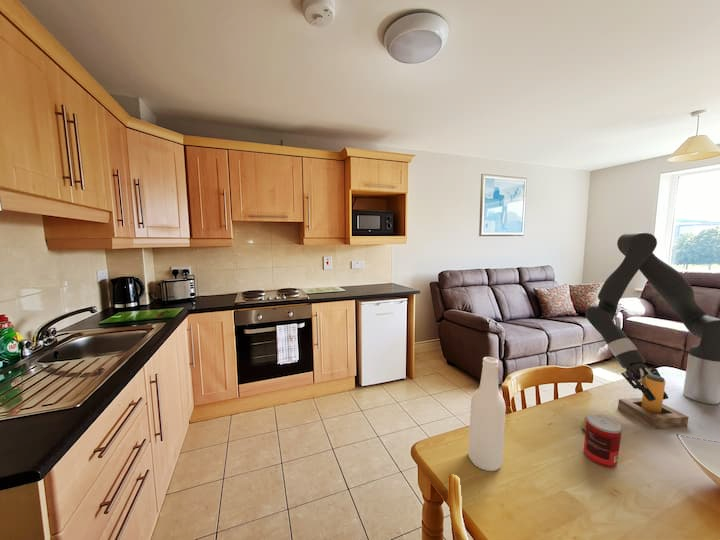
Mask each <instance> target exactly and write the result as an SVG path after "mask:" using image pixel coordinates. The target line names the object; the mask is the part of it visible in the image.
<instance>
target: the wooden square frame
mask: <svg viewBox="0 0 720 540" xmlns="http://www.w3.org/2000/svg"><path fill="white" fill-rule="evenodd" d="M641 404H642V397H635V398H634V397H633V398H631V397H630V398H619V399H618V403H617V408H618V410H621V411H622V412H624V413H625V414H627V415H629V416H630V417H632V418H634V419H636V420H637V421H639V422H641V423H642V424H644V425H646V426H647V427H649V428H650V429H653V430H656V429H657V430H658V429H670V428H671V429H672V428H686V427H688V423H689V416H688V415H686V414H684V413H682V412H680V411H678V410H676V409H674V408H672V407H670V406H668V405H666V404H663V403H662V409H661V414H652V413H651V412H649V411H647V410H645V409H643V408H641Z"/></svg>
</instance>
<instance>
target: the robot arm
mask: <svg viewBox="0 0 720 540" xmlns="http://www.w3.org/2000/svg"><path fill="white" fill-rule="evenodd" d="M616 243H617V244H616V245H617V248H618V250H619V252H620V253H621V254H622V255H624V256H625V257H624V259H623V260H622V262H621V263H620V265H619V266H618V267H617V268H616V269H615V270H614V271H613V272H612V273H611V274H610V275H609V276H608V277H607V278H606V280H605V281H604V283H603V285H602V286H601V289H600V290H599V292H598V294H597V298H598V301H599V302H598V305H591V306H589V307H587V309H586V310H585V317H586V319H587V321H588V322H589V323H590V325H591V326H592V327H593V328H594V329H595V330H596V331H597V332H598V333H599V334H600V335H601V337H602V338H603V340H604V341H605V343H606V344H607V347H608V348H609V350H610V351H611V353H612V354H613V356H614V357H615V359H616V360H617V361H618V363H619V365H620V367H621V368H623V369H625V371H623V372H621V375H622V376H623V378H624V379H625V380H626V381H627V382H628V384H630V385H631V387H632V388H633V390H636V389H637V390H639V391H641V392H642V395H643V394H644V396H645V397H646V398H647V399H648V401H653V400H656V398H655V397H654V395H653V394H652V393H651V391H650V390H649V388H648V389H647V385H646V380H645V376H647V374H653V375H657V376H660V377H662V376H661V374H660V372H659V370H658V369H657V368H656V367H653V368H649V366H647V365H646V364H645V363H646V359H645V357H644V356H643V354H642V352H640V351H639V350H638V348H637V347H636V345H635V344H634V343H633V342H632V341H631V339H630V338H629V337H628V336H627V334H626V333H625V332H624V331H623V329H622V328H621V327H619V326H618V324H617V325H616V324H615V322H614V321H613V320H614V318H615V317H616V312H617V310H618V305H619V302H620V300H621V299H622V297H623V295H624V293H625V291H626V290H627V288H628V286H629V284H630V282H631V281H632V280H633V278H634V277H635V275H636V274H637V273H638V271H640V273H642V275H643V277H645V279H646V280H647V281H648V282H649V284H650V285H651V286H652V288H653V289H654V290H655V291H656V292H657V293H658V294H659V295H660V297H661V298H663V300H664V301H665V302H666V303H667V304H668V306H670V307H671V308H672V310H674V312H675V313H676V315H677V316H678V317H679V319H680V320H681V322H682V323H683V325H684V326H685V328H686V329H687V331H688V332H689V333H691V334H692V335H694V336H695V337H698V338H700V340H699V345H692V346H690V347H689V349H688V354H687V363H686V370H685V377H684V383H683V390H682V392H683V393H682V394H683V396H685V397H686V398H688V399H690V400H693V401H695V402H699V403H702V404H707V405H719V403H720V318H718V317H715V316H711V315H709V314H708V313H706V311H704V310H703V309H702V308H701V307H700V305H698V303H697V302H696V300H695V293H694V289H693V287H692V286H691V284H690V282H689V281H687V279H686V278H685V277H684V276H683V274H681V273H680V272H679V271H678V270H677V269H675V268H674V267H672V266H671V265H669V264H668V263H666V262H664V261H663V260H661V259H660V258H659V257H657V256H656V255H655V253H654V251H655V250H656V248H657V245H658V240H657V238H656V236H655V235H653V234H652V233H649V232H643V231H642V232H641V231H639V232H638V231H637V232H633V231H632V232H627V233H624V234H622V235H621V236H619V237H618V239H617V242H616ZM668 399H669V396H668V394H667V392H665V390H664V395H663V401H665V400H668Z"/></svg>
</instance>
